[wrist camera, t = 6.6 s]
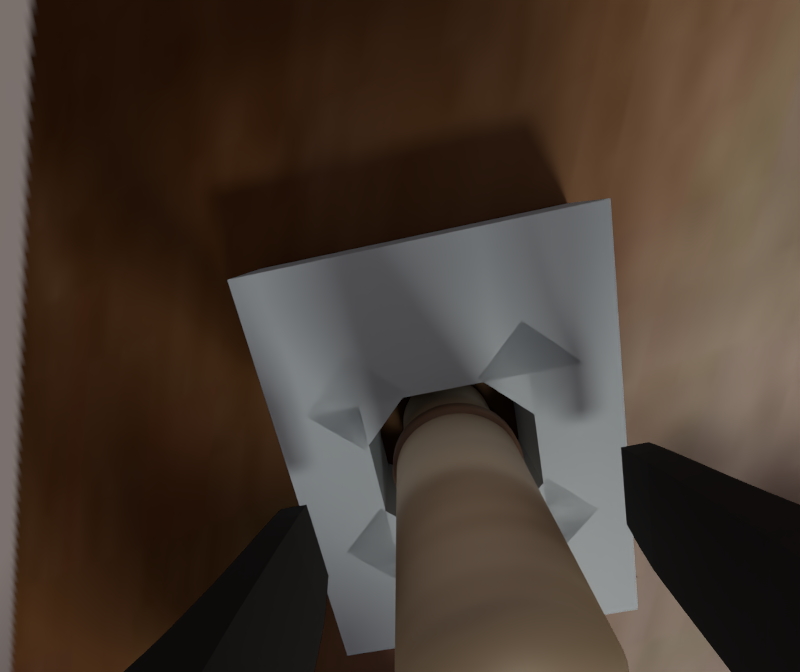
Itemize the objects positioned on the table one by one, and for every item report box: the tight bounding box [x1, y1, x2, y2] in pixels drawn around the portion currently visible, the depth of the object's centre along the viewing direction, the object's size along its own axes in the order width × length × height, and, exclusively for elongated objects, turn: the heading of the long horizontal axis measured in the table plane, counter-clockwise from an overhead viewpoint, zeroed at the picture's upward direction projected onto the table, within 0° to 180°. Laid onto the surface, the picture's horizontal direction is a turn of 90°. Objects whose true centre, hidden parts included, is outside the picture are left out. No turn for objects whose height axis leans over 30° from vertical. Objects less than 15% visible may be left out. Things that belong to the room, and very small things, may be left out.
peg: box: [393, 385, 629, 672], centre depth 9 cm, size 3×3×8 cm
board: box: [227, 198, 638, 656], centre depth 12 cm, size 12×9×2 cm
